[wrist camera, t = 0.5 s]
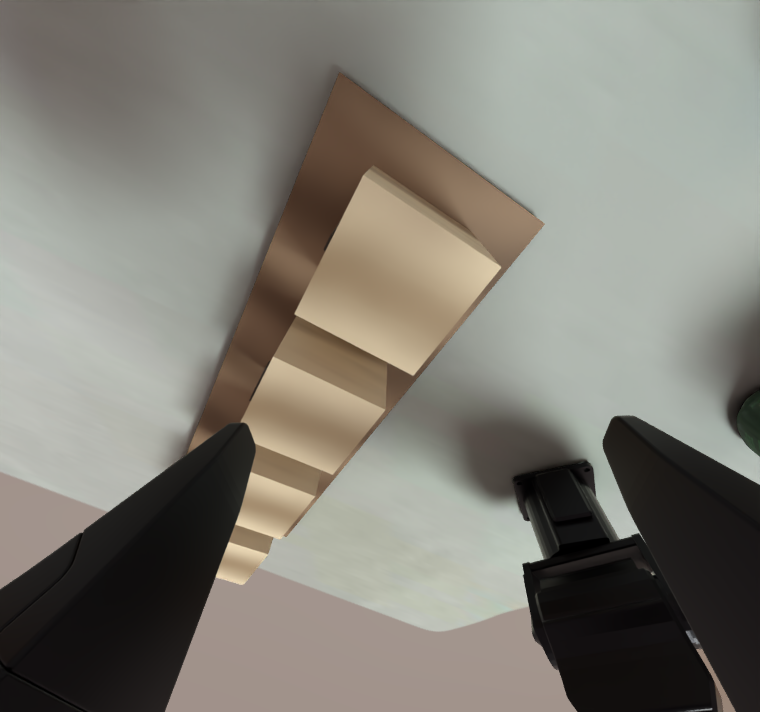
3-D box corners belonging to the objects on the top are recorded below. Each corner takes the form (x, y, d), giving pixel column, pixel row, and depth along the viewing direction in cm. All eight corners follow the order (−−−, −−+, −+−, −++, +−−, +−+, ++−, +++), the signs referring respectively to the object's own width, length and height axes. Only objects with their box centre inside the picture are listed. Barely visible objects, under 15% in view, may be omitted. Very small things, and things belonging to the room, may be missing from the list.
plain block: (257, 394, 24) (221, 461, 19) (331, 427, 26) (315, 496, 21) (233, 443, 27) (196, 511, 22) (300, 469, 29) (280, 539, 24)
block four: (222, 459, 28) (185, 528, 23) (289, 485, 30) (268, 554, 25) (204, 495, 31) (168, 563, 26) (266, 516, 33) (243, 585, 28)
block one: (370, 162, 16) (359, 172, 11) (471, 231, 18) (501, 267, 13) (318, 267, 19) (290, 312, 14) (409, 318, 21) (413, 375, 15)
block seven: (301, 302, 20) (270, 355, 15) (387, 347, 22) (385, 409, 17) (267, 370, 23) (231, 434, 18) (345, 406, 25) (332, 474, 20)
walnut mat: (342, 75, 15) (339, 72, 14) (537, 220, 18) (544, 223, 17) (174, 488, 32) (169, 497, 32) (288, 527, 35) (286, 536, 35)
